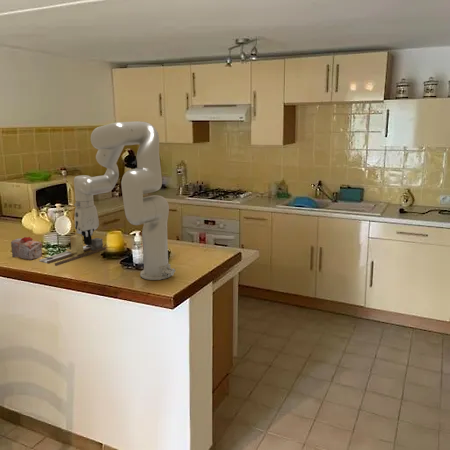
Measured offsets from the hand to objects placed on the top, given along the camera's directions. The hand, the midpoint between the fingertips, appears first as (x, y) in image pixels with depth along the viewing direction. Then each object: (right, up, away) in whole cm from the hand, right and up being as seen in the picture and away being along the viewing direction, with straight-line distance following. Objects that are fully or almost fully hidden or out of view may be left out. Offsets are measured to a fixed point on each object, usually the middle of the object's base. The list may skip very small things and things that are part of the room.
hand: (88, 244), depth 206 cm
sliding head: (-5, -5, -3) cm, 8 cm away
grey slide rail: (-6, -6, -2) cm, 8 cm away
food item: (-25, -6, -3) cm, 26 cm away
